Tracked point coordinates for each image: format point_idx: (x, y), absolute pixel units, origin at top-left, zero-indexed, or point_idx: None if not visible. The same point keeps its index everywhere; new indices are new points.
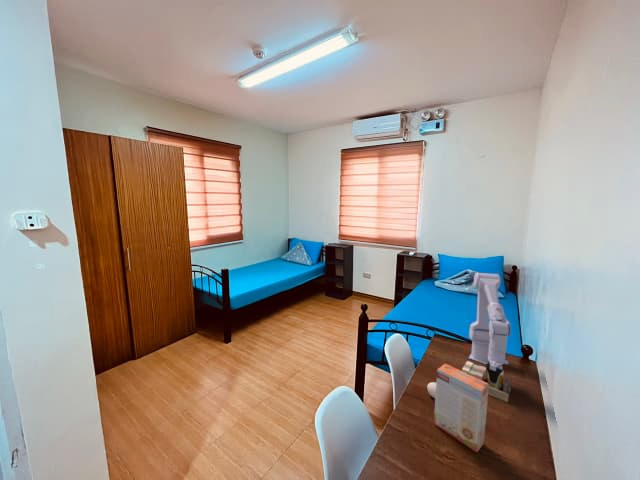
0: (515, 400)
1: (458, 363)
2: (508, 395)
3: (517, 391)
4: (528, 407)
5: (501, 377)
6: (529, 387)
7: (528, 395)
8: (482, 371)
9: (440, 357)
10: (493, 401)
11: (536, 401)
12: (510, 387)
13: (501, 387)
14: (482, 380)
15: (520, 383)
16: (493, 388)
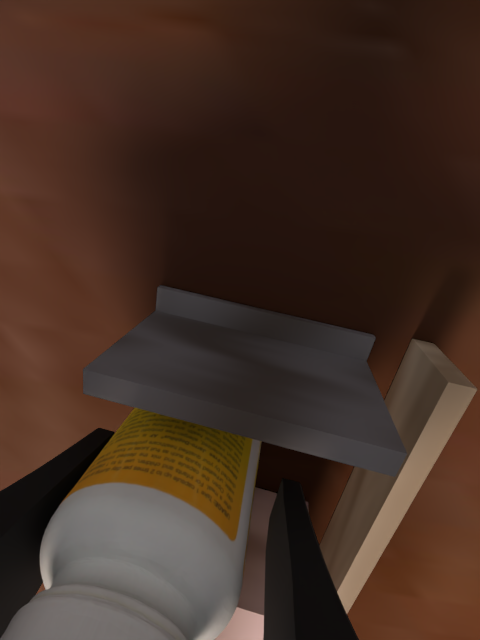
0: (360, 269)
1: None
2: (462, 381)
3: (176, 231)
4: (439, 146)
5: (218, 485)
6: (8, 95)
7: (181, 122)
8: None
9: None
10: (470, 448)
11: (256, 32)
12: (159, 293)
13: None
14: (259, 532)
15: (4, 186)
16: (394, 503)
